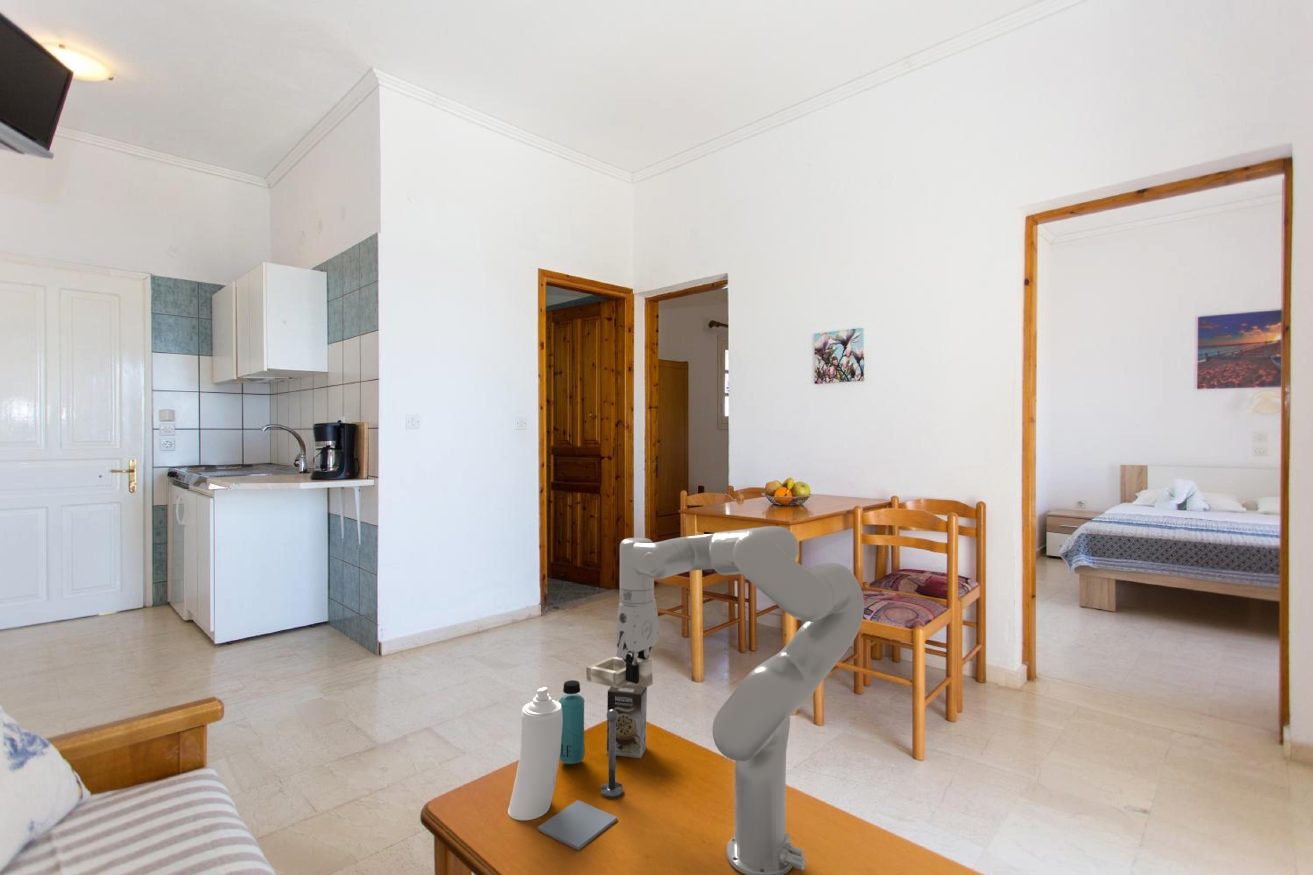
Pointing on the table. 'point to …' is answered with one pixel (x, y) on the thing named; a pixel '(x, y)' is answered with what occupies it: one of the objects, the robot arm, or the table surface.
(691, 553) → the robot arm
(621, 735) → the coffee box
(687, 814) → the table surface
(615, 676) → the cream square frame
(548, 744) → the spray can
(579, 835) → the mat
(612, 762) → the stand
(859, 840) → the table surface
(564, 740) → the beverage bottle
